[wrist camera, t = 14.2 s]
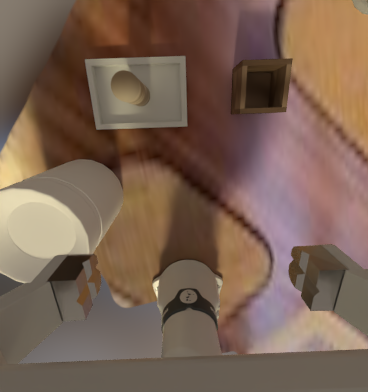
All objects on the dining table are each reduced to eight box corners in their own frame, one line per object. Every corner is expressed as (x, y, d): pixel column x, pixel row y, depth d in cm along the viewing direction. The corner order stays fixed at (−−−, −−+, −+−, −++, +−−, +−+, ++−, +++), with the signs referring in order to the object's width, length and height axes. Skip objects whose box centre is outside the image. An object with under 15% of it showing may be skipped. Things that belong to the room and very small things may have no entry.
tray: (187, 126, 44) (187, 126, 42) (99, 129, 44) (96, 129, 42) (185, 58, 40) (185, 55, 38) (89, 62, 40) (84, 59, 38)
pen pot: (270, 112, 44) (285, 112, 37) (230, 114, 44) (239, 113, 37) (274, 67, 41) (292, 58, 34) (232, 69, 41) (242, 60, 34)
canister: (119, 230, 52) (85, 293, 34) (51, 217, 51) (-24, 276, 32) (128, 167, 47) (94, 201, 28) (53, 151, 46) (-36, 175, 27)
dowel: (151, 105, 42) (140, 101, 31) (130, 106, 42) (112, 102, 31) (149, 83, 41) (137, 69, 30) (128, 83, 41) (108, 70, 30)
